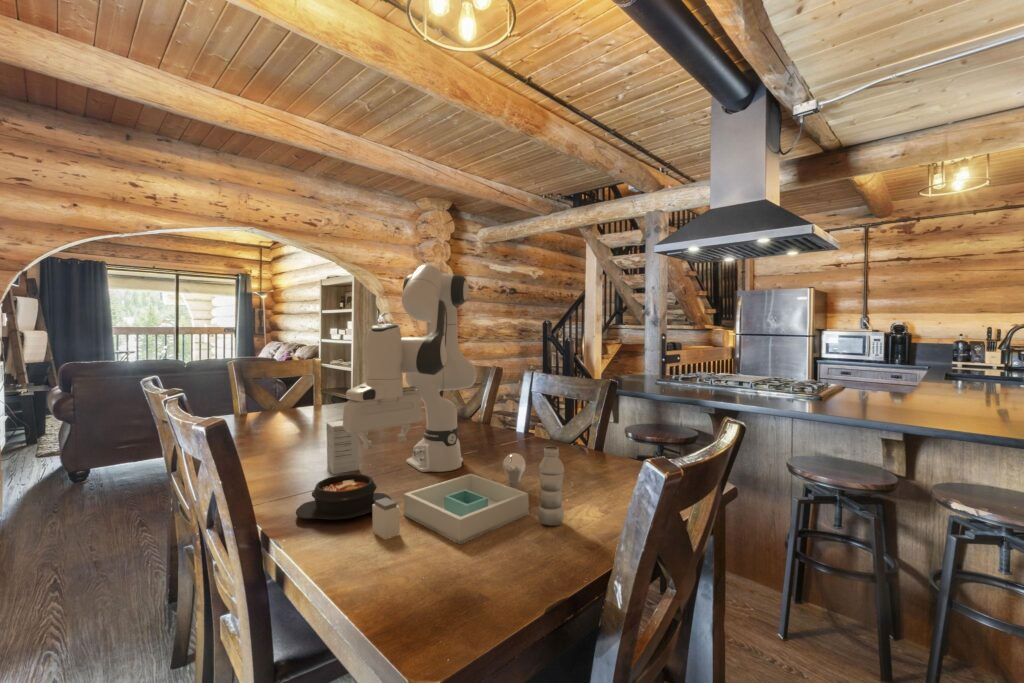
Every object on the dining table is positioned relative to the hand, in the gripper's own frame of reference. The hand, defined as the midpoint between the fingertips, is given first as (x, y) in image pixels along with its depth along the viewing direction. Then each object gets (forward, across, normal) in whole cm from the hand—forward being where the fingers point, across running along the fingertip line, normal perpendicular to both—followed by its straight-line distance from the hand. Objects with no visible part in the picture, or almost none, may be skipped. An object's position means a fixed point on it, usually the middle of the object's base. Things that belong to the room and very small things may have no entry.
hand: (385, 445), depth 114 cm
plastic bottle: (+22, -33, +26) cm, 48 cm away
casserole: (+22, +1, -20) cm, 30 cm away
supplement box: (+22, -16, -57) cm, 63 cm away
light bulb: (+22, -43, +3) cm, 49 cm away
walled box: (+22, -21, +6) cm, 31 cm away
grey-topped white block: (+22, 0, 0) cm, 22 cm away
